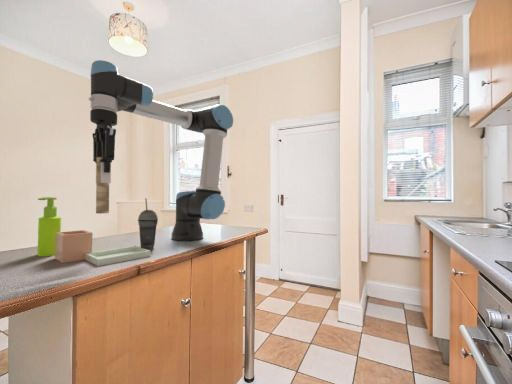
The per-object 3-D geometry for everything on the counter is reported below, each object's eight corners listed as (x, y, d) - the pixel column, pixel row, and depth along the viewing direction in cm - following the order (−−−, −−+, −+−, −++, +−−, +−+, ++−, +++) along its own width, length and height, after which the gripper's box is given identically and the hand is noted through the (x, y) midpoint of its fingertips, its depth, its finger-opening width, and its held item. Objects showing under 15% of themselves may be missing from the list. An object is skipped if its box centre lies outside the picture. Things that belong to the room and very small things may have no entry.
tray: (135, 253, 92) (135, 245, 92) (150, 258, 85) (150, 250, 85) (84, 261, 79) (84, 253, 79) (97, 268, 72) (97, 259, 72)
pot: (83, 256, 85) (84, 230, 86) (91, 260, 81) (92, 232, 81) (54, 260, 79) (55, 232, 79) (61, 265, 74) (62, 235, 75)
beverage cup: (149, 252, 94) (151, 198, 94) (132, 250, 95) (134, 198, 95) (161, 248, 101) (162, 198, 101) (144, 247, 102) (146, 198, 103)
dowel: (106, 212, 84) (107, 158, 84) (110, 213, 82) (111, 158, 82) (94, 212, 81) (95, 157, 81) (98, 213, 79) (99, 156, 79)
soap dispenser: (29, 259, 81) (31, 197, 81) (47, 254, 88) (49, 197, 88) (47, 259, 81) (49, 197, 81) (64, 254, 88) (65, 197, 88)
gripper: (82, 113, 84) (81, 183, 84) (100, 102, 74) (99, 182, 74) (107, 118, 90) (106, 183, 90) (127, 109, 79) (126, 183, 79)
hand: (103, 183), depth 82 cm, fingers closed on dowel, 3 cm apart
